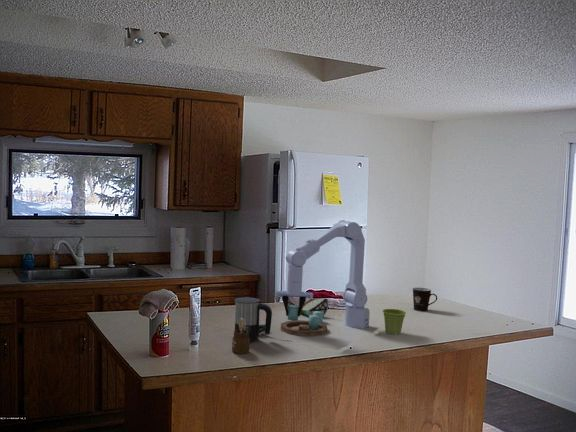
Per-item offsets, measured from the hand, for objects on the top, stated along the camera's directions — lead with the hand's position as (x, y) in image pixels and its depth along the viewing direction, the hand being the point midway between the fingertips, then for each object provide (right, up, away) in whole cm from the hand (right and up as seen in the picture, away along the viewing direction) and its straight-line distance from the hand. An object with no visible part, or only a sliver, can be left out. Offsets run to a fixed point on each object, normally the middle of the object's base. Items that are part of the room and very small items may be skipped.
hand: (292, 315), depth 238 cm
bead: (0, -1, 0) cm, 2 cm away
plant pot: (+40, -8, +7) cm, 42 cm away
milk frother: (-16, -7, -10) cm, 20 cm away
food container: (+6, -3, +31) cm, 32 cm away
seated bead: (+8, -6, +3) cm, 10 cm away
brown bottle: (-18, -8, -30) cm, 36 cm away
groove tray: (+4, -7, 0) cm, 8 cm away
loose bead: (+10, -6, +15) cm, 19 cm away
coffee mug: (+62, -6, +52) cm, 81 cm away
